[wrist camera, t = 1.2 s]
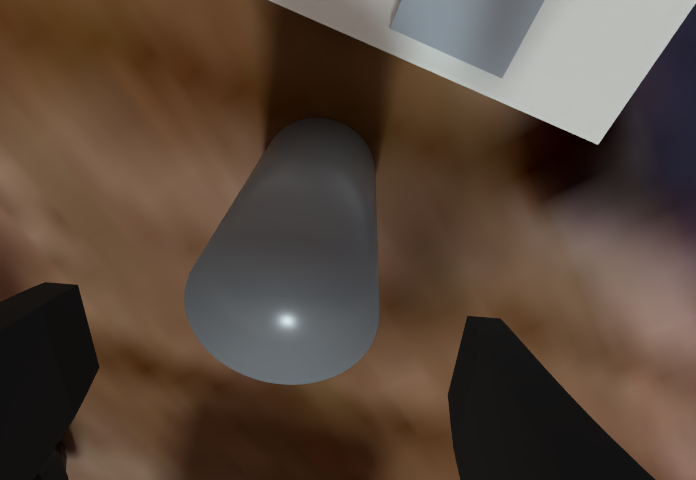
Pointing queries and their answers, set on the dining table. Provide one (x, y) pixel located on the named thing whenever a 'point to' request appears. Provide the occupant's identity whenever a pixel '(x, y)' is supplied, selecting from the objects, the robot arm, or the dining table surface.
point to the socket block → (521, 48)
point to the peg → (294, 261)
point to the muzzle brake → (54, 465)
